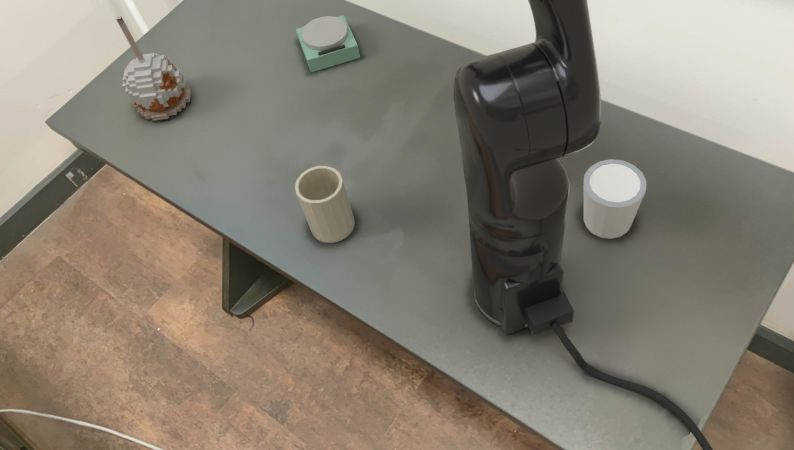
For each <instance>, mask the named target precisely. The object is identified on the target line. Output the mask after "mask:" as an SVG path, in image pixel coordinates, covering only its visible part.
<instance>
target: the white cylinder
mask: <svg viewBox="0 0 794 450" xmlns="http://www.w3.org/2000/svg"><path fill="white" fill-rule="evenodd" d="M582 190H583V194H582V195H583V197H582V198H583V223H584V225H585V228H586V229H587V230H588V231H589V232H590V233H591V234H592V235H594V236H596V237H598V238H601V239H609V240H612V239H617V238H621V237H623V236H625V235H626V234H627V233H628V232H629V231H630V229H631V227H632V225H633V223H634V221H635V219H636V216H637V213H638V211H639V209H640V207H641V205H642V202H643V199H644V197H645V194H646V192H647V178H645V175H644V173H643V171H641V170H640V169H639V168H638V167H636V166H635V164H632V163H630V162H628V161H626V160H623V159H613V158H610V159H605V160H600V161H598V162H595V163H594V164H592V165H591V166H589V167H588V169H587V170H586V172H585V173H584V175H583V187H582Z"/></svg>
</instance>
